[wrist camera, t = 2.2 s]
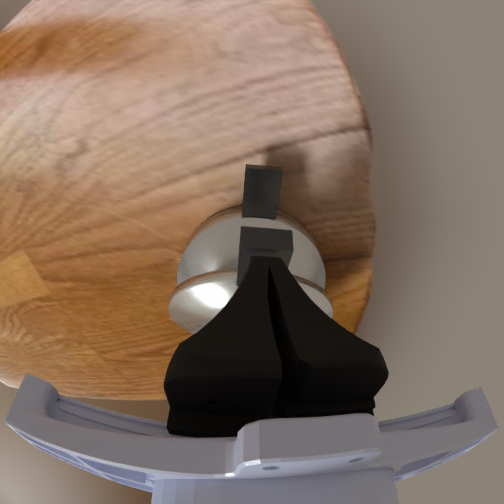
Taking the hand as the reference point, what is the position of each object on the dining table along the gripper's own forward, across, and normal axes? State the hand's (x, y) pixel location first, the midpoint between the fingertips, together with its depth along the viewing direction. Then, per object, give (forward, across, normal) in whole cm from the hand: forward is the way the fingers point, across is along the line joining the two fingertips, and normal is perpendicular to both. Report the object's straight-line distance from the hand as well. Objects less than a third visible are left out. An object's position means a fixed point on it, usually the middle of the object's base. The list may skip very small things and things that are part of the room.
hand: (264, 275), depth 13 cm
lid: (+4, 0, +6) cm, 7 cm away
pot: (+10, 0, +7) cm, 12 cm away
